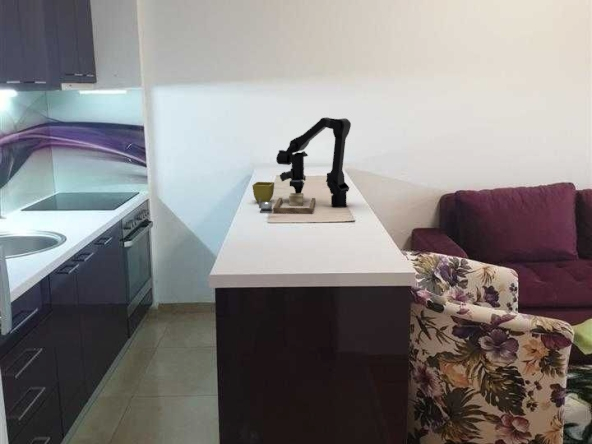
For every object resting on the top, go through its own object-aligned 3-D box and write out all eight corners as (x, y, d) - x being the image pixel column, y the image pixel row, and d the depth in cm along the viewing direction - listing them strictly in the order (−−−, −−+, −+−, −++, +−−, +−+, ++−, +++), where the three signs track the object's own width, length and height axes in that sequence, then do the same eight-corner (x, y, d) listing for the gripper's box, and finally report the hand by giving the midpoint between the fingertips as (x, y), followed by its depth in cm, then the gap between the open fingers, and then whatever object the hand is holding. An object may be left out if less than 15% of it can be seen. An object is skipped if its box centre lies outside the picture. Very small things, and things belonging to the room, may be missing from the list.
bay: (315, 203, 293) (315, 198, 293) (312, 213, 271) (312, 208, 270) (279, 202, 295) (279, 197, 294) (273, 213, 272) (273, 207, 272)
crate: (303, 203, 293) (303, 193, 292) (302, 206, 287) (302, 195, 286) (290, 203, 293) (290, 193, 292) (289, 206, 287) (289, 195, 286)
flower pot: (270, 204, 291) (270, 185, 289) (252, 203, 293) (252, 184, 291) (274, 200, 300) (274, 182, 298) (257, 200, 301) (256, 181, 299)
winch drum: (272, 210, 278) (272, 197, 276) (271, 212, 273) (271, 199, 272) (260, 210, 278) (259, 197, 277) (258, 212, 274) (258, 199, 272)
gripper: (282, 162, 304) (283, 194, 307) (278, 168, 286) (278, 201, 289) (305, 162, 303) (305, 194, 306) (302, 168, 285) (302, 202, 288)
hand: (297, 198), depth 298 cm, fingers closed
